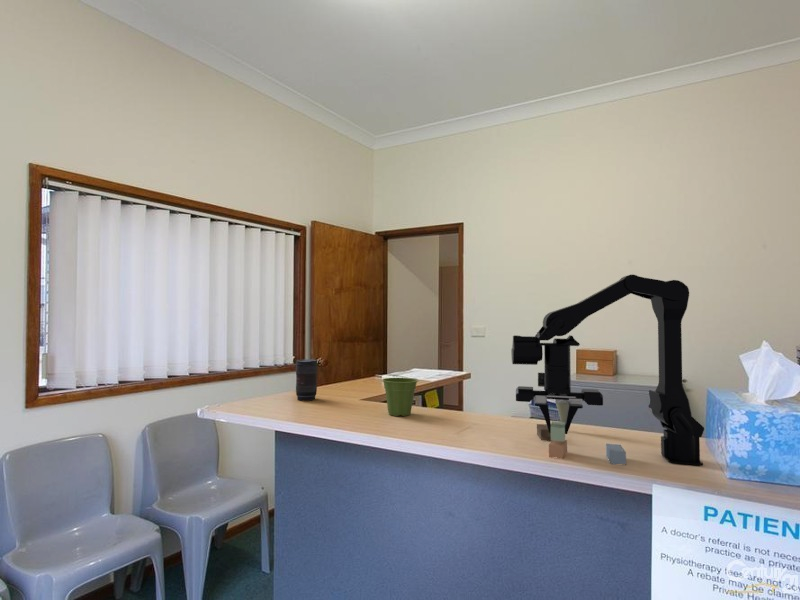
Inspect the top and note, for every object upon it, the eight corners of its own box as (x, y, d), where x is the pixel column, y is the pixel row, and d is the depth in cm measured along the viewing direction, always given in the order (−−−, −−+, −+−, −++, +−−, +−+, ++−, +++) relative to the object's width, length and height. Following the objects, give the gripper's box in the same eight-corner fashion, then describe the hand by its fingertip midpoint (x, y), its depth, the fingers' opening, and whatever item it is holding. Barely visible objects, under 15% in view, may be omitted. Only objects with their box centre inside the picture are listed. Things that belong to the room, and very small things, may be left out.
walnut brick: (548, 435, 123) (548, 424, 123) (553, 441, 117) (553, 429, 118) (536, 435, 124) (536, 424, 124) (541, 441, 118) (540, 429, 118)
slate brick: (620, 458, 104) (620, 444, 104) (626, 466, 98) (625, 451, 98) (606, 456, 104) (606, 443, 105) (610, 464, 99) (610, 450, 99)
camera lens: (291, 400, 173) (292, 360, 174) (302, 397, 181) (302, 359, 182) (310, 401, 171) (311, 361, 172) (320, 398, 179) (321, 359, 179)
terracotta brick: (567, 453, 107) (567, 440, 107) (562, 459, 102) (562, 446, 102) (553, 451, 109) (553, 438, 109) (548, 457, 104) (548, 444, 104)
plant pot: (413, 419, 142) (413, 382, 142) (376, 417, 145) (377, 381, 145) (421, 412, 153) (421, 378, 154) (387, 409, 156) (388, 376, 157)
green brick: (565, 435, 108) (565, 422, 108) (564, 441, 102) (564, 428, 102) (551, 434, 109) (551, 421, 109) (550, 440, 103) (550, 426, 104)
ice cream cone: (551, 429, 129) (550, 376, 130) (565, 428, 131) (565, 375, 132) (563, 433, 124) (562, 378, 125) (578, 432, 126) (577, 377, 127)
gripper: (595, 363, 112) (596, 428, 111) (516, 361, 117) (517, 423, 116) (602, 367, 101) (604, 439, 100) (515, 365, 106) (516, 433, 105)
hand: (558, 433), depth 106 cm, fingers closed on green brick, 3 cm apart
